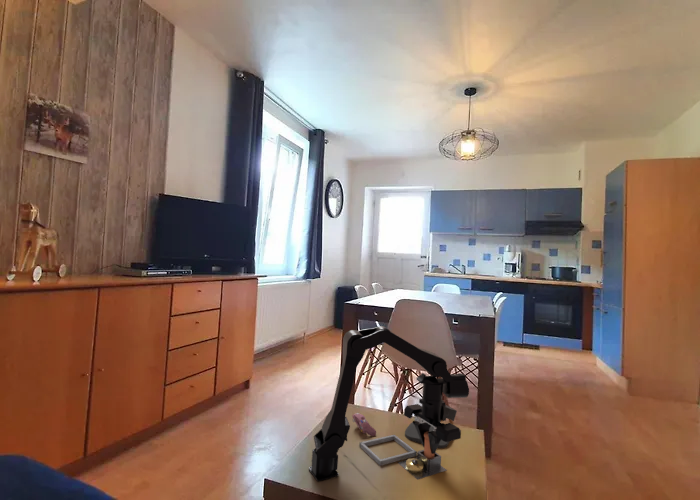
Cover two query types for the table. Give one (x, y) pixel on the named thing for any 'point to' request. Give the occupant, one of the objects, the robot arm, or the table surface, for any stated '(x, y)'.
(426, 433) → the pin
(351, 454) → the table surface
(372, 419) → the table surface
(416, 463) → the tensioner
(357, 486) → the table surface
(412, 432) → the media streaming box
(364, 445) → the tray
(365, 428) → the video game controller
